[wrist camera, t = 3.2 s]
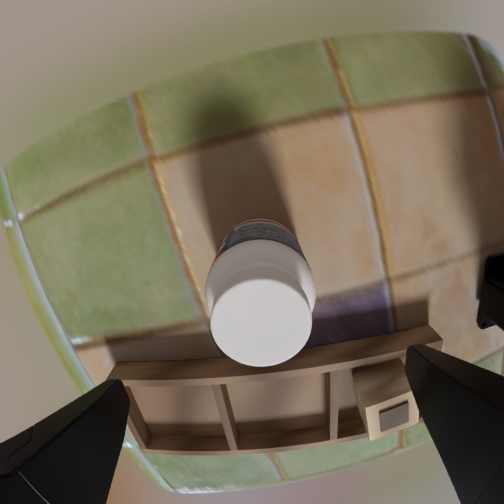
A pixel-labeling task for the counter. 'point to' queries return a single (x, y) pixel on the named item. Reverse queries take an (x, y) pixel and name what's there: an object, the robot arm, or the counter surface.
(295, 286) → the pill bottle
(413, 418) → the tan hollow cube
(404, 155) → the counter surface
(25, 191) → the counter surface
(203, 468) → the counter surface
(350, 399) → the bay tray
